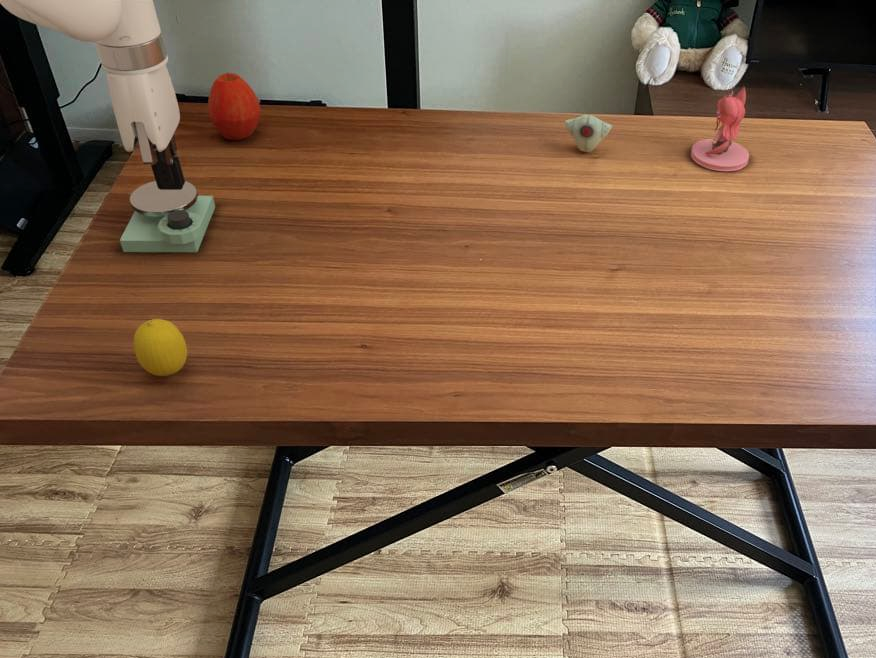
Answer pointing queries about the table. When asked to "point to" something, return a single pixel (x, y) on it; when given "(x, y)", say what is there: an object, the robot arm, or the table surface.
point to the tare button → (179, 220)
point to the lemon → (160, 347)
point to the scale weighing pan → (162, 199)
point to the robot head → (587, 131)
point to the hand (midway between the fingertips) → (172, 186)
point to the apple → (233, 107)
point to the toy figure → (724, 138)
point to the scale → (168, 230)
